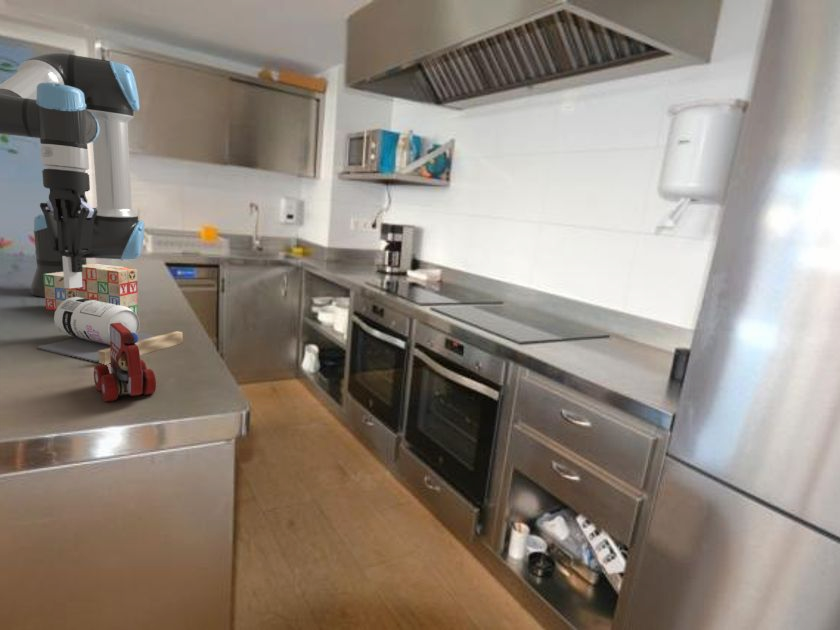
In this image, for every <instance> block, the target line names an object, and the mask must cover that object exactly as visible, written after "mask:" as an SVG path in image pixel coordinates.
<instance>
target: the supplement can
mask: <svg viewBox="0 0 840 630" xmlns="http://www.w3.org/2000/svg"><path fill="white" fill-rule="evenodd" d="M53 317H54V318H53V320H54V325H55V328H57V330H58V332H60V333H62V334H64V335H66V336H70V337H74V338H82V339H86V340H90V341H95V342H99V343H103V344H107V345H110V333H109V332H110V330H109V327H110V324H111V323H121V324H123V325H124V326H125V327H126V328H127V329H129V330H130V331H131V332H132V333H135V334H136V335H137V333H138V332H139V331H140V326H141V325H140V324H141V323H140V319H139V316H138V315H136V314H135V313H134V312H133V311H132V310H131V309H129V308H128V307H125V306H121V305H115V304H110V303H105V302H100V301H95V300H90V299H85V298H80V297H72V298H68V299H66V300H64V301H63V302H62V303H61V304H60V305H59V306H58V307H57V309H56V311H54V316H53Z"/></svg>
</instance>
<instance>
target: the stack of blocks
mask: <svg viewBox="0 0 840 630" xmlns="http://www.w3.org/2000/svg"><path fill="white" fill-rule="evenodd" d="M82 268H83V270H82V286H83V287H79V288H71V289H69V288H64V273H63V272H56V273H48V274H43V280H44V286H45V297H44V298H45V308H46V310H47V311H54V312H55V311H56V309H57V307H58V306H59V305H60V304H61V303H62V302H63V301H64V300H66V299H68V298H72V297H80V298H85V299H90V300H95V301H100V302H105V303H110V304H115V305H121V306H125V307H128V308H129V309H131V310H132V311H133V312H134V313H135V314H136V315H137V314H138V315H139V305H138V289H139V288H138V269H137V268H130V267H126V266H121V265H120V266H119V265H108V264H99V263H89V264H87V265H82ZM138 315H137V316H138Z"/></svg>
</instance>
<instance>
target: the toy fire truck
mask: <svg viewBox="0 0 840 630" xmlns="http://www.w3.org/2000/svg"><path fill="white" fill-rule="evenodd" d="M109 330H110V332H109V333H110V347H111V348H110V349H111V350H110V357H111V364H110V368H109V366H108V364H107V365H103V364H97V365H95V366H94V367H93V380H94V386H95V388H96V390H97V391H99V392H101V396H102V400H103V402H107V403H108V402H113V401H116V400H117V399H118V398H119V397H118V396H120V395H123V394H124V393H127V394H129V395H130V396H139V395H142V394H143V395H144V396H147V395H153V394H155V393H156V389H157V380H156V374H155V372H154V370H153V369H150V368H149V369H148V368H147V364H146V361H144V360H142V358H141V355H140V353H139V348H138V346H137V345H136V344H135V343H137V342H138V336H137V335H136V334H135V333H132V332H131V331H130V330H129V329H127V328H126V327H125V326H124V325H123V324H121V323H111V324H110V327H109Z"/></svg>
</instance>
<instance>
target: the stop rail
mask: <svg viewBox="0 0 840 630" xmlns="http://www.w3.org/2000/svg"><path fill="white" fill-rule="evenodd" d="M183 334H184V333H183V331H178V330H176V331H173V332H168V333H165V334H160V335H155V336H156V337H152V338H148V339H144V340H140V341H138V342H137V343H135V344H136V345H137V346H138V348H139V353H140V356H143V355H146V354H149V353H152V352H156V351H160V350H163V349H167V348H171V347H173V346H177V345H180V344H181V345H182V344H183V343H184V338H183V337H184V335H183ZM110 350H111V349H110V348H108V349H104V350H100V351H98V355H99V363H102V364H101V365H103V364H107V365H110V364H109V363H111V357H110ZM99 363H98V364H99Z"/></svg>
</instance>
